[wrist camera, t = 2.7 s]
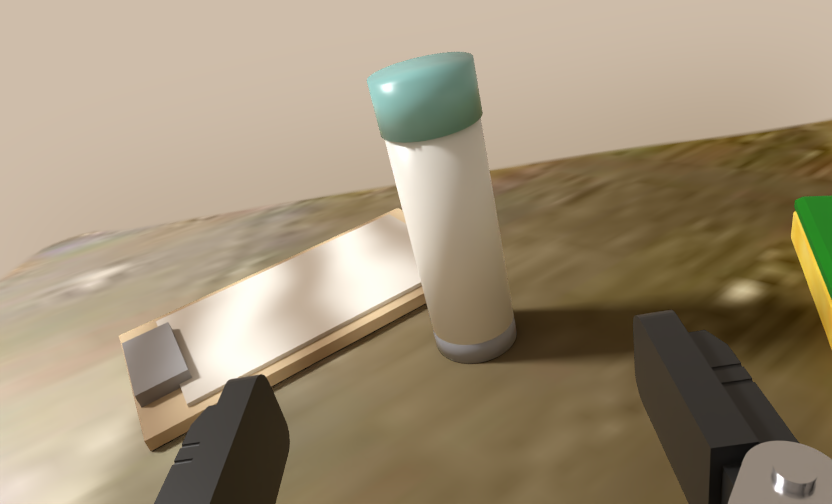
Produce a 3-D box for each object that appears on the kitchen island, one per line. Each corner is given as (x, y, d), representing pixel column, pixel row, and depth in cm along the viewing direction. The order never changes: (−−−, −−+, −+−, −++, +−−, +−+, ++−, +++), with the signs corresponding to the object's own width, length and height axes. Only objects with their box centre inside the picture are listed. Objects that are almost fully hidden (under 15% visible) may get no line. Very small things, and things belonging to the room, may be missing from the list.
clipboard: (399, 216, 39) (395, 198, 38) (491, 267, 31) (488, 246, 30) (123, 344, 32) (113, 325, 32) (150, 451, 24) (136, 429, 24)
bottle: (484, 301, 29) (435, 49, 23) (537, 335, 26) (495, 54, 20) (419, 337, 27) (349, 79, 21) (466, 378, 24) (400, 90, 18)
